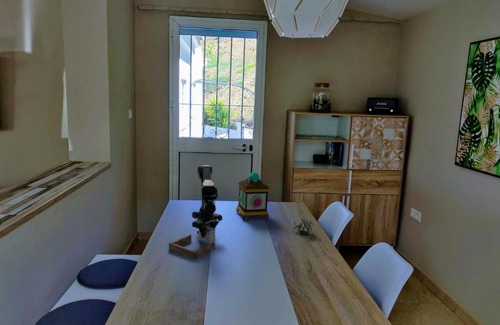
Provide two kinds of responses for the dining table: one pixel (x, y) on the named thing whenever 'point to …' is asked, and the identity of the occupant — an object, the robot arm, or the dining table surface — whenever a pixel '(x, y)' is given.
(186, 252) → the frame
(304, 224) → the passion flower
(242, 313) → the dining table surface
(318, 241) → the dining table surface
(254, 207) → the decorative lantern
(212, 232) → the medicine box
